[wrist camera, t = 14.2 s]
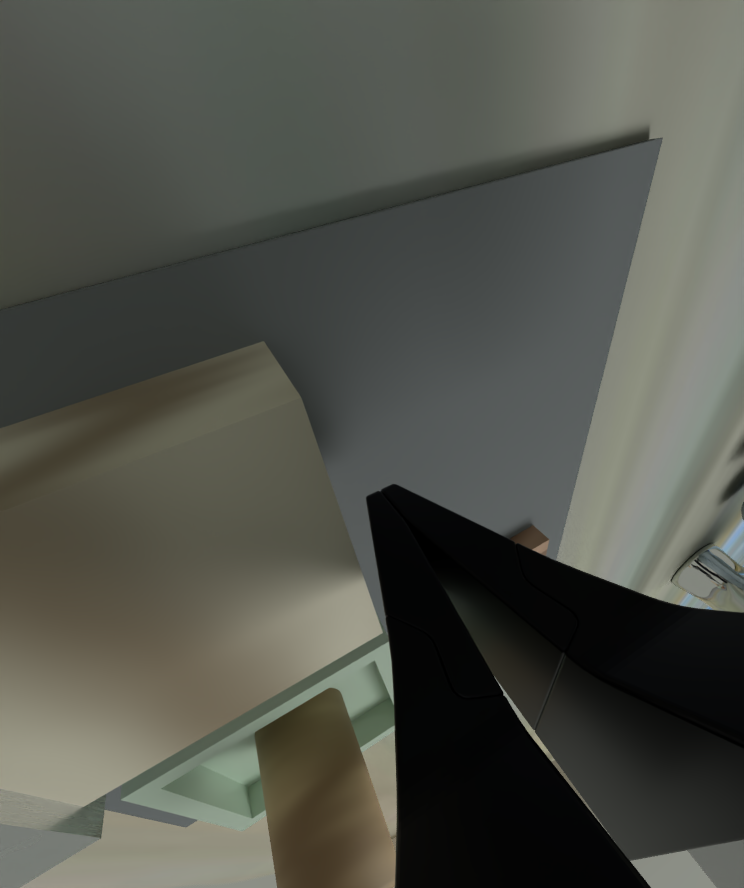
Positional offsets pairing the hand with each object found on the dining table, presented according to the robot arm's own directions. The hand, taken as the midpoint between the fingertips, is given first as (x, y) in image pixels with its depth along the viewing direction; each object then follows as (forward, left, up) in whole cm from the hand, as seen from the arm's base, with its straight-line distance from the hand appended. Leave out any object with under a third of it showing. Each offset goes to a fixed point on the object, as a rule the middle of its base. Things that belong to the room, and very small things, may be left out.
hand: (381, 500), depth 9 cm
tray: (+6, +12, -2) cm, 13 cm away
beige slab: (+5, 0, -2) cm, 5 cm away
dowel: (+6, +12, -1) cm, 13 cm away
